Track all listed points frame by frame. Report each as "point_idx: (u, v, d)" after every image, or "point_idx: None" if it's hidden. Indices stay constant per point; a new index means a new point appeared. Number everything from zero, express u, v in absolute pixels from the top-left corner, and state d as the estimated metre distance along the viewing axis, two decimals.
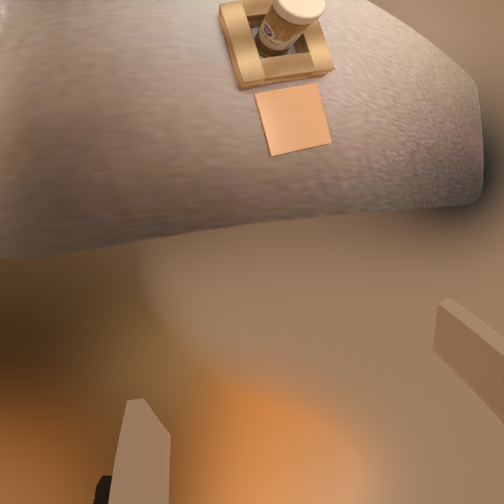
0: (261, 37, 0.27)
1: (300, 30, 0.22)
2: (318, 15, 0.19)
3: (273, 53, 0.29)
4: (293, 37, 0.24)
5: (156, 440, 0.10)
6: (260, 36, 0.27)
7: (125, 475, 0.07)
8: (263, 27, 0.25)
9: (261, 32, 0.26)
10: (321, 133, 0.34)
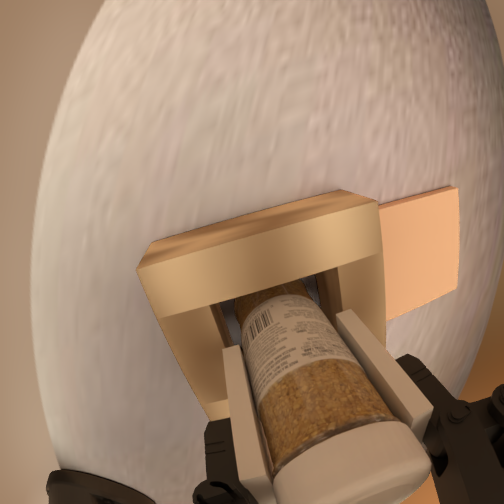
0: None
1: None
2: (428, 461, 0.05)
3: None
4: None
5: (250, 385, 0.12)
6: None
7: (244, 409, 0.09)
8: None
9: None
10: (445, 206, 0.17)
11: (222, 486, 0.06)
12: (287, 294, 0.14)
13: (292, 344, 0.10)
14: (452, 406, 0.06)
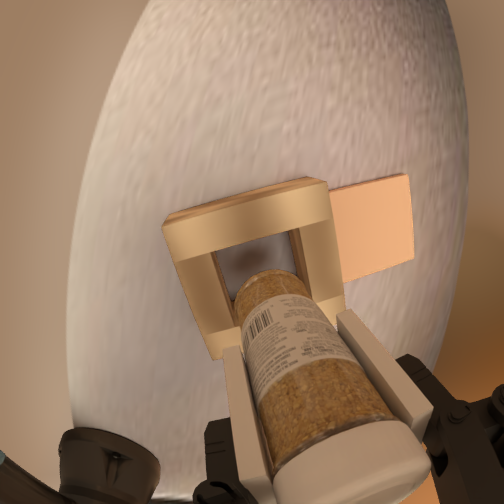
0: None
1: None
2: (428, 461, 0.05)
3: None
4: None
5: (250, 384, 0.12)
6: None
7: (244, 409, 0.09)
8: None
9: None
10: (396, 189, 0.23)
11: (222, 486, 0.06)
12: (287, 294, 0.14)
13: (292, 343, 0.10)
14: (452, 406, 0.06)
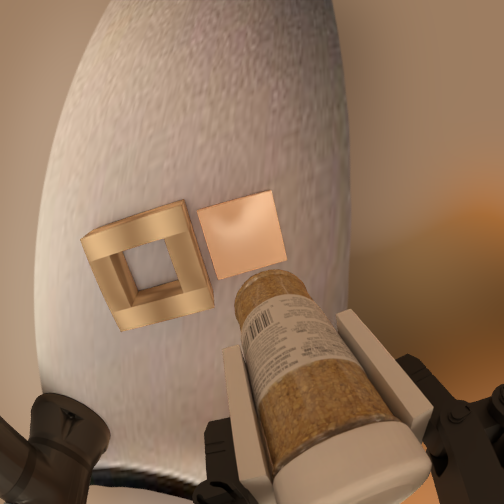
0: None
1: None
2: (429, 462, 0.05)
3: None
4: None
5: None
6: None
7: (244, 409, 0.09)
8: None
9: None
10: (260, 204, 0.31)
11: (222, 486, 0.06)
12: (287, 294, 0.14)
13: (292, 344, 0.10)
14: (452, 406, 0.06)
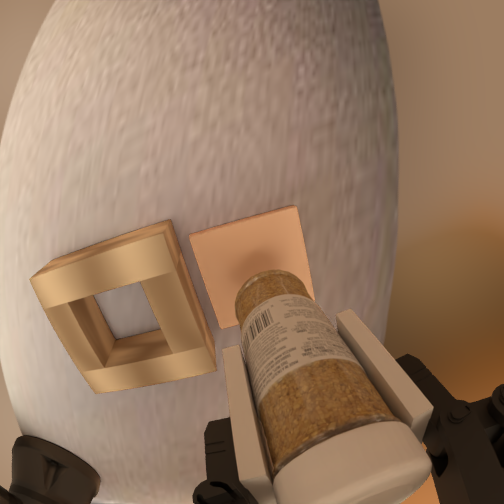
0: None
1: None
2: (429, 462, 0.05)
3: None
4: None
5: None
6: None
7: (244, 409, 0.09)
8: None
9: None
10: (281, 226, 0.22)
11: (222, 486, 0.06)
12: (288, 294, 0.14)
13: (292, 344, 0.10)
14: (452, 406, 0.06)
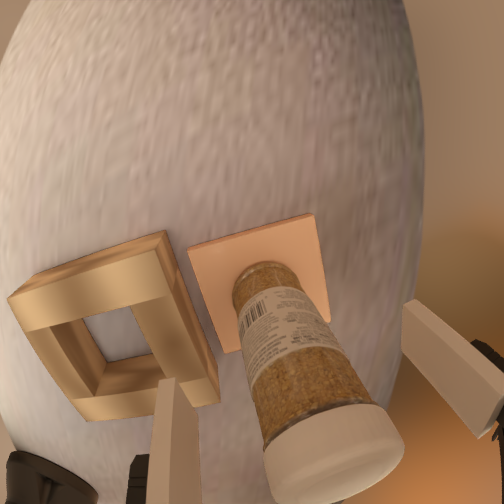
0: None
1: None
2: (401, 443, 0.07)
3: None
4: None
5: (187, 418, 0.11)
6: None
7: (164, 450, 0.08)
8: None
9: None
10: (295, 238, 0.18)
11: None
12: (281, 286, 0.15)
13: (283, 332, 0.12)
14: None
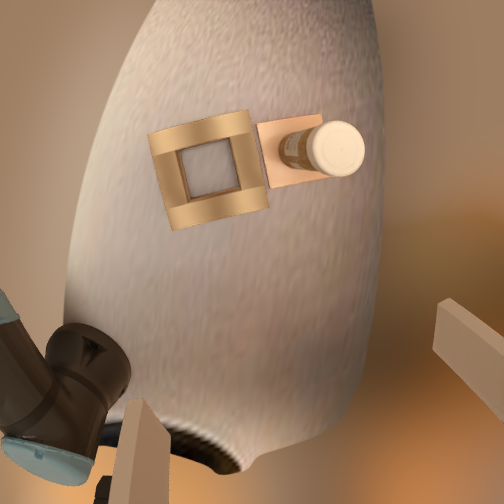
0: None
1: None
2: (359, 134, 0.21)
3: None
4: None
5: (156, 440, 0.10)
6: None
7: (125, 475, 0.07)
8: None
9: None
10: (311, 123, 0.33)
11: None
12: None
13: None
14: None
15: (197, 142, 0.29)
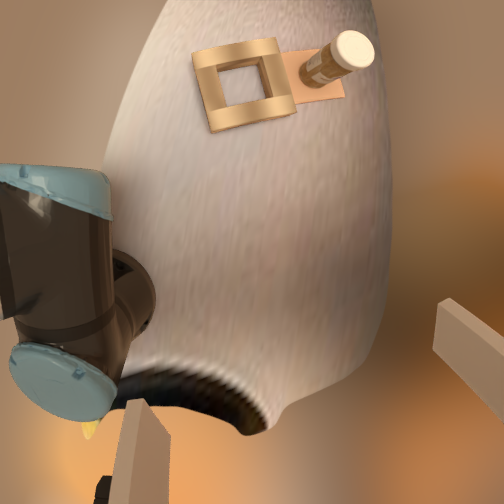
0: (330, 82, 0.33)
1: None
2: (369, 41, 0.23)
3: None
4: None
5: (156, 440, 0.10)
6: (328, 82, 0.33)
7: (125, 475, 0.07)
8: (333, 79, 0.31)
9: (330, 81, 0.32)
10: None
11: None
12: None
13: None
14: None
15: (234, 59, 0.31)
